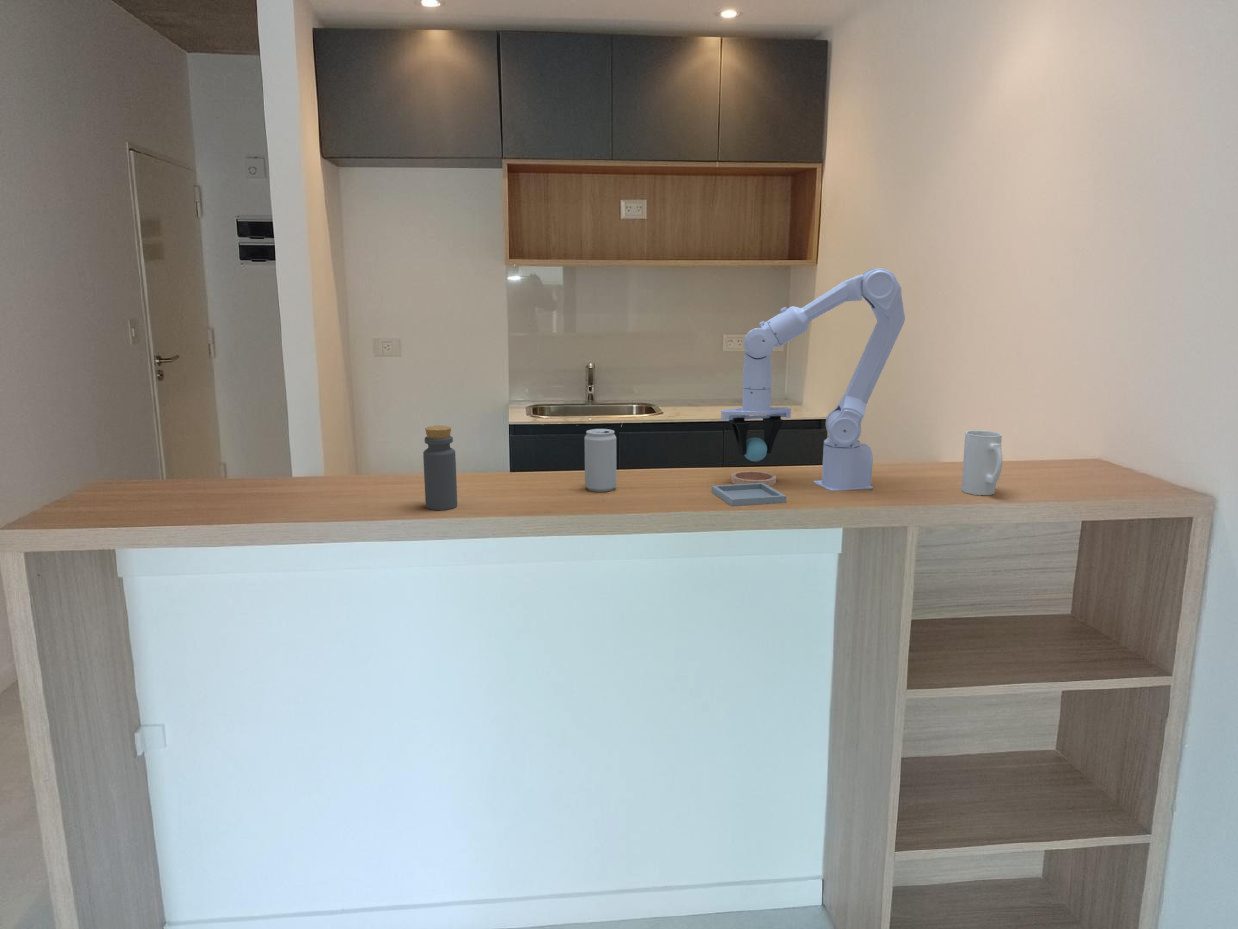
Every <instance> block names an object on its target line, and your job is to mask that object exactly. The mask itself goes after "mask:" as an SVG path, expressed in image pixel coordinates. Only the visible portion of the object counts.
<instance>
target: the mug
mask: <svg viewBox="0 0 1238 929" xmlns="http://www.w3.org/2000/svg"><path fill="white" fill-rule="evenodd" d="M964 434H965V435H964V436H965V437H964V445H963V446H964V448H963V461H962V462H963V464H962V476H961V478H962V479H961V491H962V493H965V494H968V495H974V496H981V495H987V496H993V495H994V494H995V493H996V486H997V484H998V482H999V479H1000V476H1001V473H1002V468H1003V453H1002V452H1003V450H1002V439H1003V434H1002V433H1000V432H998V431H992V430H981V429H980V430H978V429H977V430H976V429H973V430H967V431H965V433H964ZM992 494H993V495H992Z"/></svg>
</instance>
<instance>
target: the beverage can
mask: <svg viewBox="0 0 1238 929" xmlns="http://www.w3.org/2000/svg"><path fill="white" fill-rule="evenodd" d="M585 432H586V435H584V486H585V488H587V489H588V491H589V492H597V493H602V492H603V493H604V492H605V493H606V492H611V491H613V490H614V489H615V488H616V487H617V436H616V435H615V430H613V429H608V428H594V429H593V428H592V429H587V430H586V431H585Z"/></svg>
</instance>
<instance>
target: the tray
mask: <svg viewBox="0 0 1238 929" xmlns="http://www.w3.org/2000/svg"><path fill="white" fill-rule="evenodd" d="M710 490H711V491H710V492H711V493H712V494H713V495H714V496H717V497H718V498H719V499H721V500H722V501H724V502H725V503H727V504H728V505H729V506H731V507H738V506H739V507H740V506H753V505H754V506H755V505H768V504H782V503H787V495H785V494H784V493H782V492H780V491H778V490H777V489H775V488H773V487H772V486H768V485H766V484H764V483H750V484H734V483H732V484H720V485H719V484H718V485H711V488H710Z"/></svg>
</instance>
